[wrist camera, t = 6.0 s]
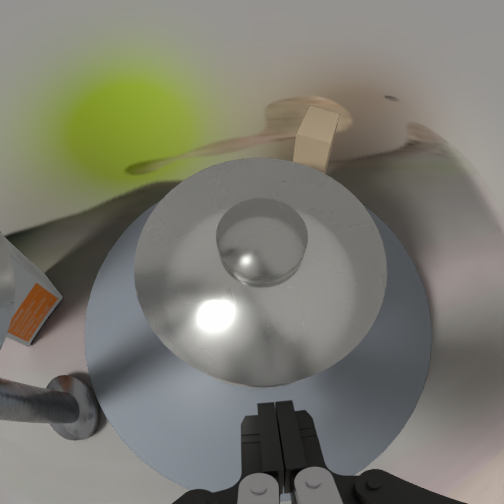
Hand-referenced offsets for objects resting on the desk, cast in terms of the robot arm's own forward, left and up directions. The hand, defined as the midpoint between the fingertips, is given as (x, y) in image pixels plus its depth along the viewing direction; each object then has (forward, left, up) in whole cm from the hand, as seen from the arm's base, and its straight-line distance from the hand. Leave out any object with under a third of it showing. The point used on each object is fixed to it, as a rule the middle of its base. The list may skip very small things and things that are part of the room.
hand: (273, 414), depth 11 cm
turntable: (-3, +5, -6) cm, 8 cm away
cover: (-3, +6, -4) cm, 7 cm away
